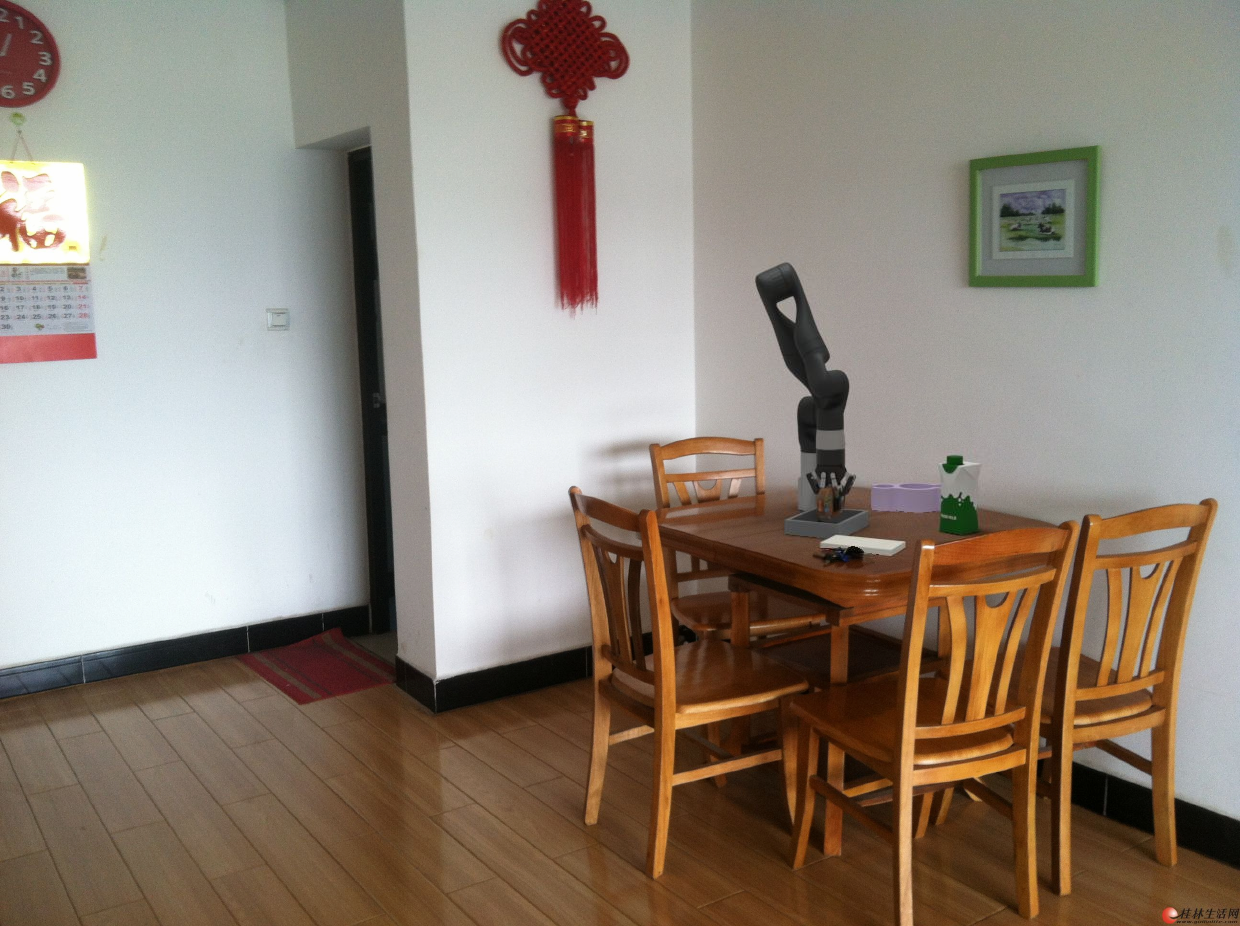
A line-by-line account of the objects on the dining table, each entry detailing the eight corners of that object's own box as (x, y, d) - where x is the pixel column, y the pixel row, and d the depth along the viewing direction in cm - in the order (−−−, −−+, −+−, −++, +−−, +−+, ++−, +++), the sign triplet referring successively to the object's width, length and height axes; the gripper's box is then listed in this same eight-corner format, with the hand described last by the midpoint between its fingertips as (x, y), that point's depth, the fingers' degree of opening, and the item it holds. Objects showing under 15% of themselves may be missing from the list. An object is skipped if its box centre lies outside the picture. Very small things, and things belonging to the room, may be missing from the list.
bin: (784, 534, 280) (784, 519, 279) (817, 520, 297) (817, 506, 297) (838, 540, 272) (838, 525, 271) (868, 525, 289) (869, 510, 288)
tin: (825, 522, 277) (826, 491, 276) (814, 521, 279) (815, 489, 277) (845, 511, 290) (847, 481, 288) (834, 510, 291) (835, 480, 290)
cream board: (820, 548, 263) (820, 542, 263) (836, 540, 271) (836, 534, 271) (891, 556, 253) (891, 549, 253) (905, 547, 261) (905, 541, 261)
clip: (873, 513, 306) (873, 489, 305) (870, 505, 318) (870, 482, 317) (945, 513, 302) (945, 489, 301) (939, 505, 315) (939, 482, 314)
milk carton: (934, 531, 279) (934, 455, 276) (957, 526, 284) (958, 452, 281) (961, 536, 272) (962, 458, 269) (984, 531, 277) (986, 455, 274)
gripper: (800, 447, 282) (801, 511, 284) (851, 449, 274) (851, 515, 277) (811, 443, 288) (811, 506, 291) (861, 445, 281) (861, 510, 283)
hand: (831, 510), depth 284 cm, fingers closed on tin, 2 cm apart
